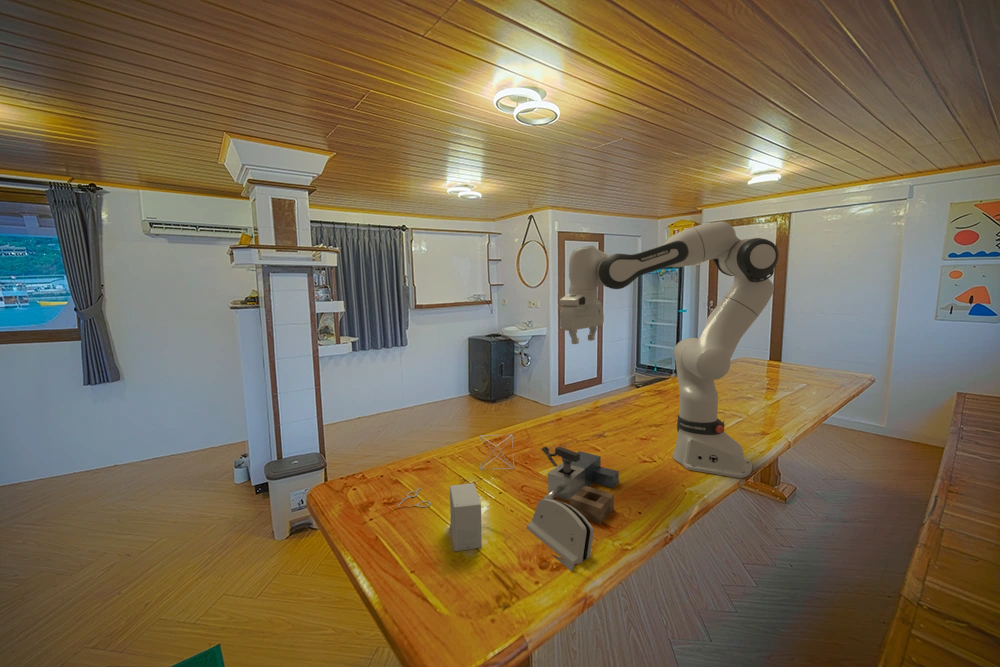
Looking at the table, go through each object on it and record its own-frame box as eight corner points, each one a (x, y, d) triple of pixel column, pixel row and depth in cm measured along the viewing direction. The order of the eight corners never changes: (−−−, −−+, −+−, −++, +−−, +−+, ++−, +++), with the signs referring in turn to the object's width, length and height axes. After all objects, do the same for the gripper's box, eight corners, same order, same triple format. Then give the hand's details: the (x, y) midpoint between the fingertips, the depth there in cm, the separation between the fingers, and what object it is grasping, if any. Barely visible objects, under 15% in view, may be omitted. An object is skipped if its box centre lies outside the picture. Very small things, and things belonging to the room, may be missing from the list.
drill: (579, 472, 127) (579, 451, 126) (620, 484, 119) (620, 461, 118) (534, 508, 107) (533, 483, 106) (579, 525, 99) (579, 498, 98)
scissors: (437, 502, 111) (364, 529, 100) (437, 504, 112) (364, 532, 100) (420, 487, 120) (350, 511, 108) (420, 489, 120) (350, 513, 108)
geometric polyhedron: (521, 462, 136) (520, 435, 135) (505, 475, 126) (504, 447, 125) (489, 455, 142) (488, 430, 141) (471, 468, 132) (470, 440, 131)
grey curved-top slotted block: (524, 531, 98) (535, 490, 98) (539, 531, 100) (549, 491, 101) (572, 572, 83) (584, 523, 84) (588, 571, 86) (600, 523, 87)
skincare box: (483, 547, 92) (481, 503, 91) (454, 552, 91) (452, 507, 89) (476, 521, 102) (474, 481, 101) (450, 525, 101) (448, 485, 100)
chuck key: (560, 482, 117) (560, 446, 115) (580, 491, 111) (581, 453, 110) (553, 486, 115) (554, 448, 113) (574, 495, 110) (574, 456, 108)
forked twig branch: (540, 450, 146) (540, 446, 146) (568, 446, 148) (568, 442, 148) (564, 481, 122) (563, 477, 122) (596, 477, 124) (596, 472, 124)
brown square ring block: (613, 513, 104) (613, 494, 104) (600, 528, 98) (600, 508, 97) (585, 503, 109) (585, 485, 109) (570, 517, 103) (570, 498, 102)
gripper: (591, 297, 140) (591, 337, 141) (556, 300, 125) (556, 345, 127) (608, 297, 135) (608, 339, 137) (573, 300, 121) (574, 347, 122)
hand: (583, 342), depth 132 cm, fingers open, 8 cm apart
